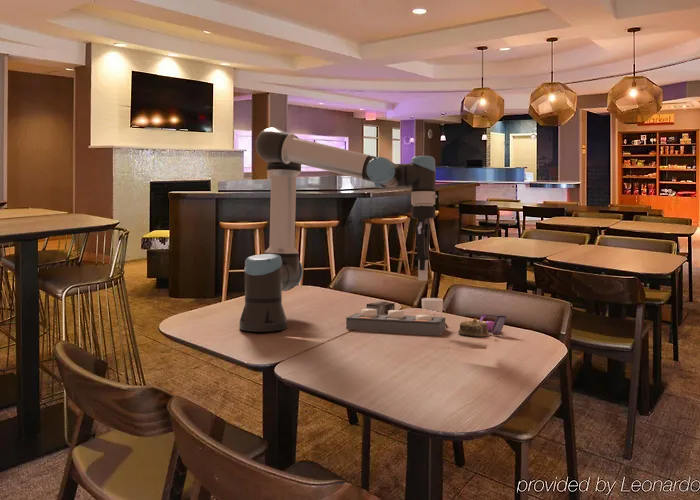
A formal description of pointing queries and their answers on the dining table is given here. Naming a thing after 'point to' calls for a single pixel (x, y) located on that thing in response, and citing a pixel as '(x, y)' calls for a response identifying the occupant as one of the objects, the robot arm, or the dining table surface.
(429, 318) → the button right
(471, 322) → the beige textured round piece
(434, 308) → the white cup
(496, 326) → the purple toy box
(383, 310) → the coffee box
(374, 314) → the button left
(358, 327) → the console
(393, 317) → the button middle
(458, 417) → the dining table surface
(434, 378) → the dining table surface
